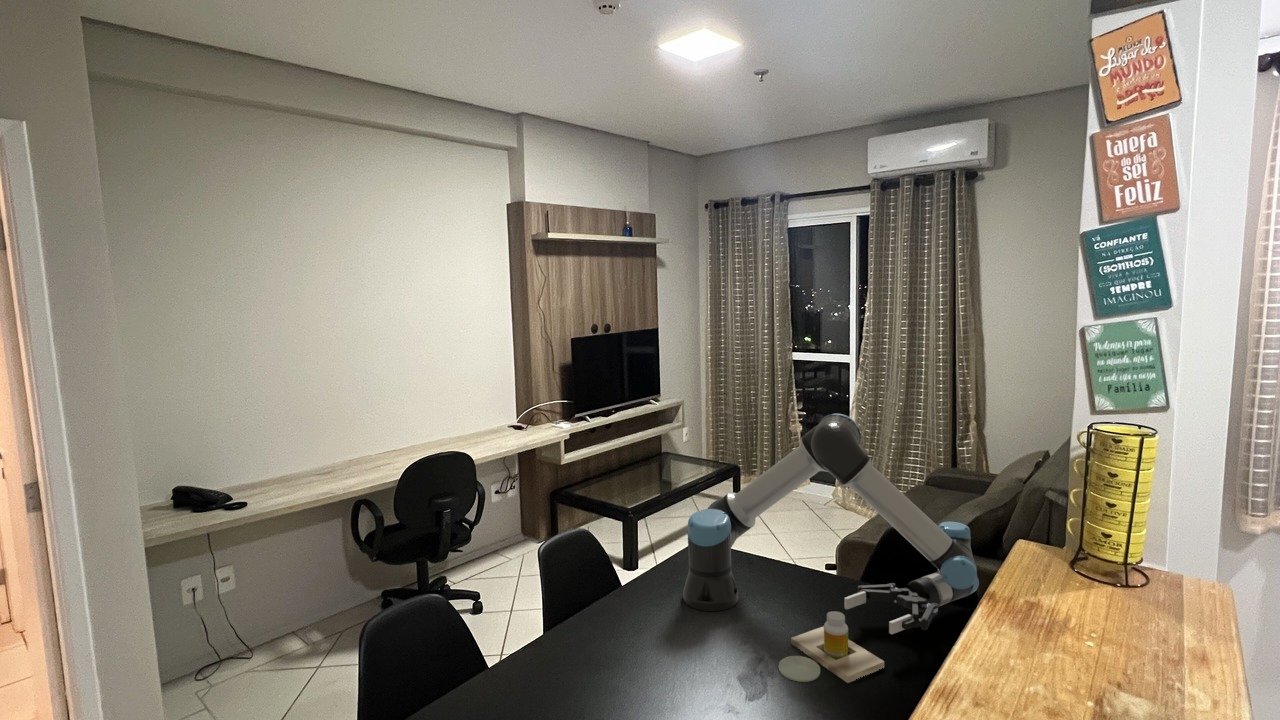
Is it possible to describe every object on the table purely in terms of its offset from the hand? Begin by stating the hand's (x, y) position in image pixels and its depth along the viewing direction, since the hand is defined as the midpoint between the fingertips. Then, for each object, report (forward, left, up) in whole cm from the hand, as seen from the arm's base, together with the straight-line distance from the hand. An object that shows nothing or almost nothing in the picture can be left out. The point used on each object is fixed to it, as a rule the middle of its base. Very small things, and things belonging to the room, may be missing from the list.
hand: (866, 615), depth 151 cm
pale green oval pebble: (0, -21, -7) cm, 22 cm away
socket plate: (0, -10, -7) cm, 12 cm away
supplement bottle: (0, -10, -7) cm, 12 cm away
